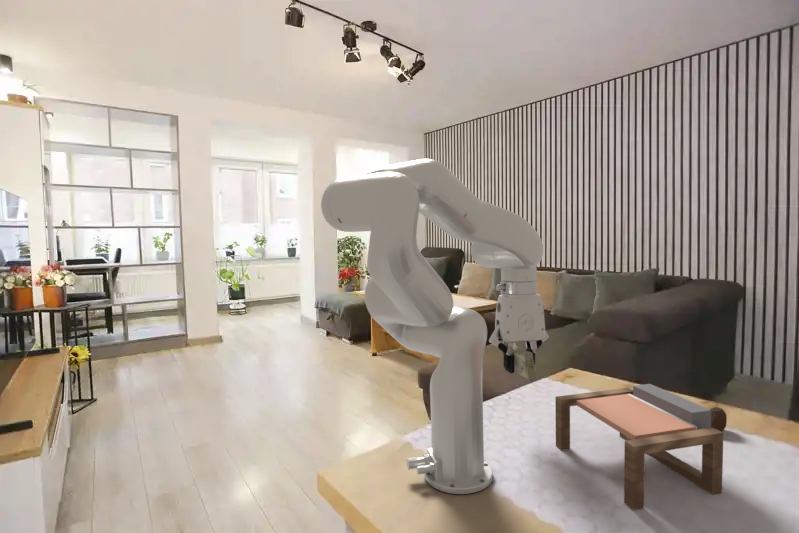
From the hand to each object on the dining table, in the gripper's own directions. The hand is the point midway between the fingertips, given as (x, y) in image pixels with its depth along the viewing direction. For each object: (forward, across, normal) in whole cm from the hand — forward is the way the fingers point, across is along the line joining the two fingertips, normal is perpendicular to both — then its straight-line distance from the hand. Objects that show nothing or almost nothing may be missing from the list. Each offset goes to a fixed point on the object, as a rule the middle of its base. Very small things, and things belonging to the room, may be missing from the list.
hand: (519, 369), depth 98 cm
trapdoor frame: (+14, +12, -20) cm, 27 cm away
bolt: (+14, +38, -6) cm, 41 cm away
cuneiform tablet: (+1, 0, +1) cm, 1 cm away
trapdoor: (+6, +14, -20) cm, 25 cm away
